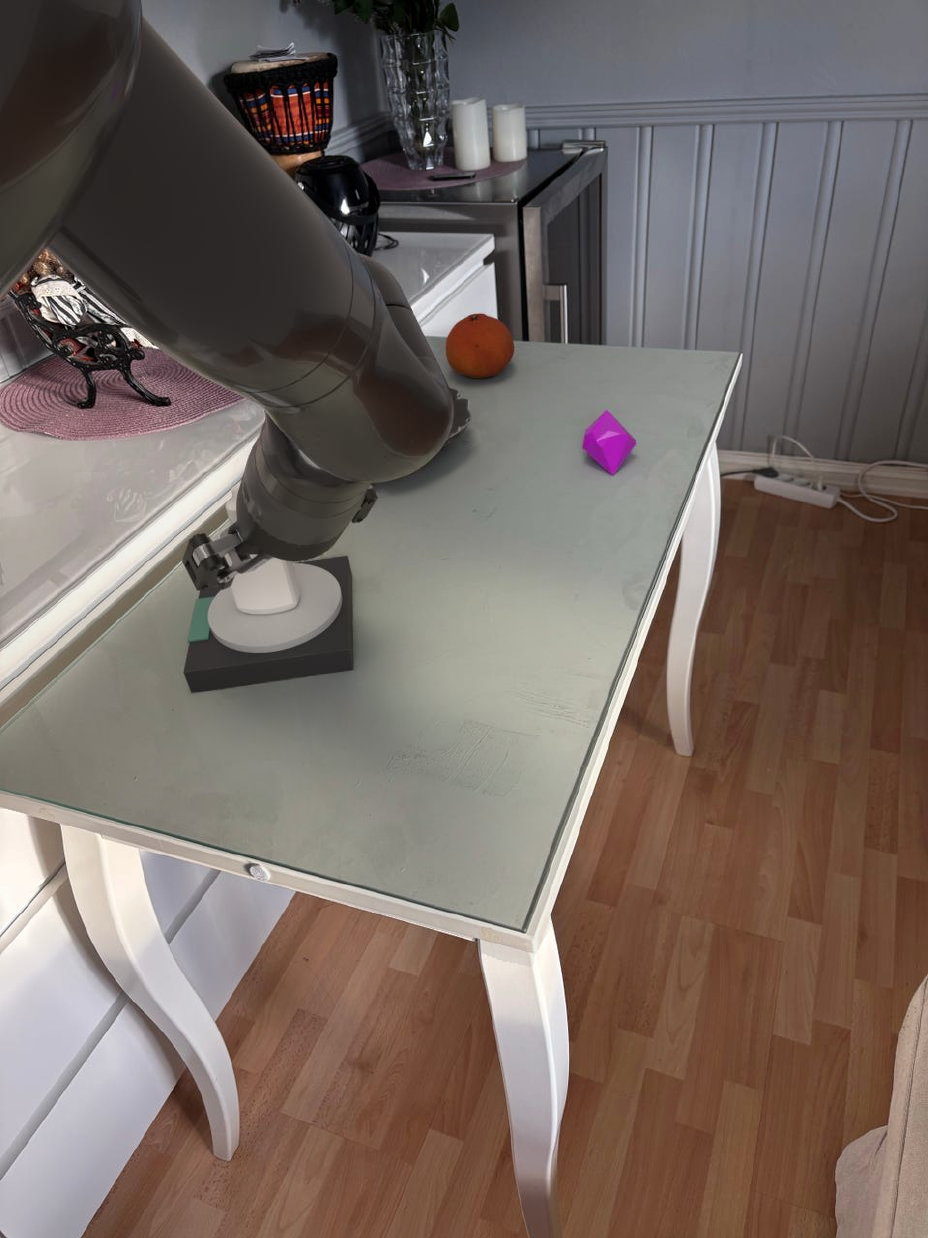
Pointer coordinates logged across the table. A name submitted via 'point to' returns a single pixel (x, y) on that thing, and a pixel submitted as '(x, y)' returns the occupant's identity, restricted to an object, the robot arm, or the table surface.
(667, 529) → the table surface
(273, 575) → the eye dropper bottle
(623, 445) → the crystal
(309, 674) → the scale
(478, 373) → the fruit
